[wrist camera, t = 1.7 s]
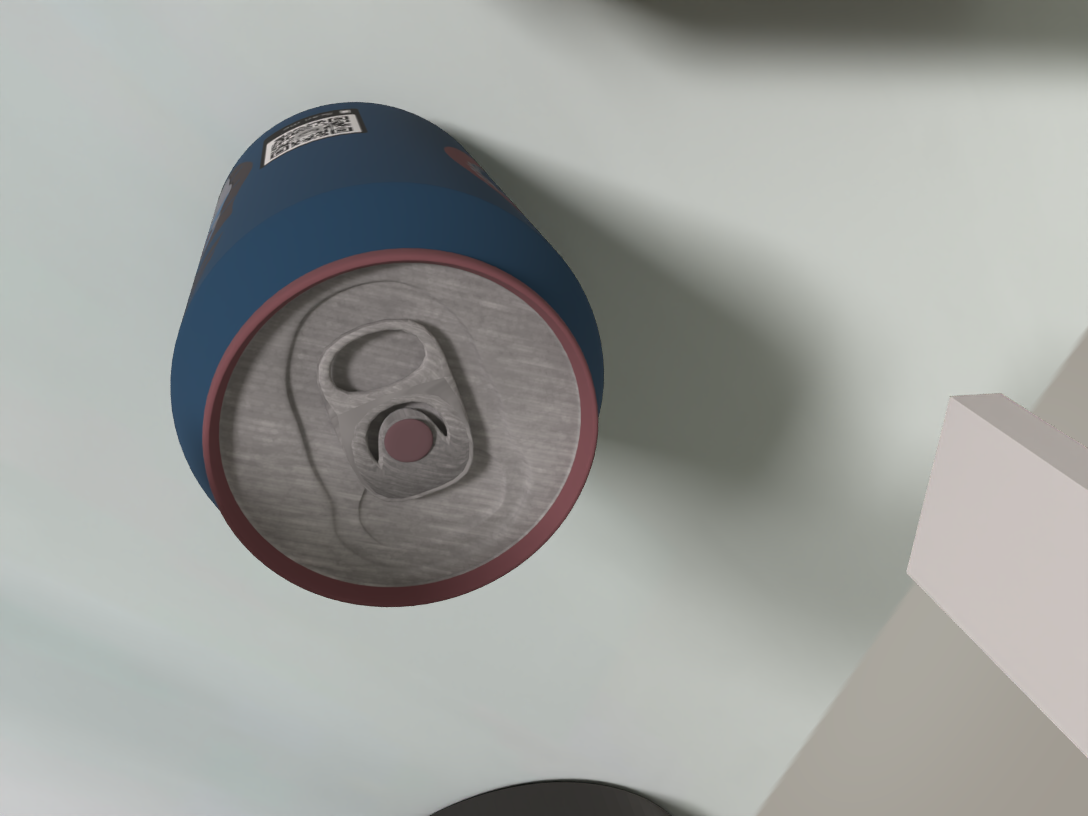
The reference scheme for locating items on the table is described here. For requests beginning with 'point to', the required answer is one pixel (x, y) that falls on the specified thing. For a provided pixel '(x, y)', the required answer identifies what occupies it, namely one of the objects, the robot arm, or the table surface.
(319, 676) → the table surface
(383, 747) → the table surface
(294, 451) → the soda can
